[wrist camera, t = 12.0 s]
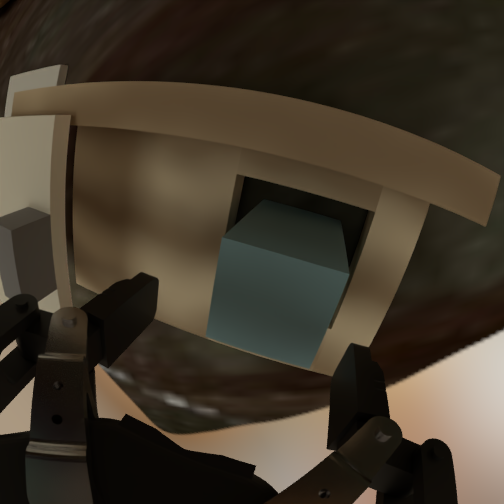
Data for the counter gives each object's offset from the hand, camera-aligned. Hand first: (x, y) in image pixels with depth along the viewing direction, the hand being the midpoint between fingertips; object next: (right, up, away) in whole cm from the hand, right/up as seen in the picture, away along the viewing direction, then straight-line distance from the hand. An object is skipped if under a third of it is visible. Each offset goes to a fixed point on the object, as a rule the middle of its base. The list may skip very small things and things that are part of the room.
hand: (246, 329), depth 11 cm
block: (+3, +3, +8) cm, 9 cm away
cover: (-14, +5, +2) cm, 15 cm away
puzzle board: (-2, +5, +9) cm, 10 cm away
